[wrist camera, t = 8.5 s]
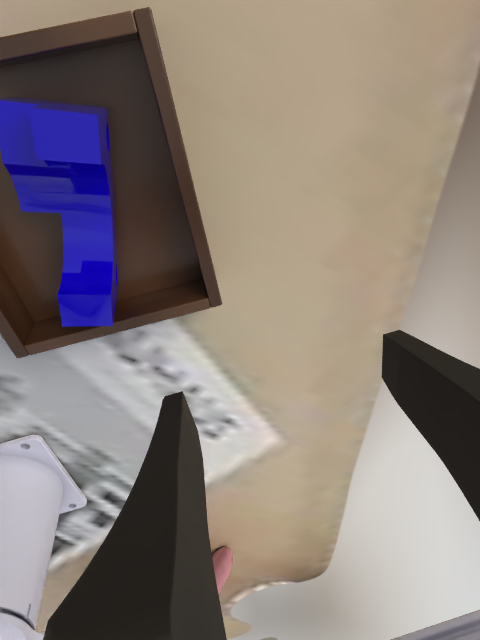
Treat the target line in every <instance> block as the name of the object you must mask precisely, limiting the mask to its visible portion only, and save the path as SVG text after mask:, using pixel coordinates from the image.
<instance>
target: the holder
mask: <svg viewBox="0 0 480 640" xmlns="http://www.w3.org/2000/svg"><path fill="white" fill-rule="evenodd" d="M6 97H20V98H30V99H39V100H48V101H57V102H66V103H75V104H84V105H93V106H102V107H108V109H109V126H110V143H111V159H112V176H113V193H114V209H115V226H116V243H117V259H118V276H119V287H118V294H117V301H116V308H115V315H114V322H113V326H75V327H62V321H61V315H60V308H59V302H58V295H57V294H58V292H59V288H60V284H61V279H62V271H63V255H64V245H63V226H62V216H61V213H45V212H24V211H21V207H20V203H19V199H18V195H17V192H16V189H15V186H14V183H13V181H12V178H11V176H10V174H9V172H8V170H7V169H6V167H5V166H4V164H3V160H2V155H1V150H0V334H1V335H2V337H3V338H4V340H5V341H6V343H7V344H8V346H9V347H10V349H11V350H12V352H13V353H14V355H15V356H16V358H21V357H25V356H28V355H33V354H37V353H40V352H44V351H48V350H52V349H56V348H59V347H63V346H67V345H71V344H75V343H79V342H82V341H86V340H90V339H94V338H98V337H101V336H105V335H109V334H113V333H117V332H121V331H124V330H128V329H132V328H136V327H140V326H143V325H147V324H151V323H155V322H159V321H163V320H166V319H170V318H174V317H178V316H182V315H185V314H189V313H193V312H197V311H201V310H205V309H208V308H210V306H211V307H216V306H220V305H222V301H221V297H220V293H219V288H218V284H217V280H216V276H215V272H214V268H213V264H212V259H211V255H210V251H209V247H208V243H207V239H206V235H205V230H204V226H203V222H202V218H201V214H200V210H199V206H198V202H197V197H196V193H195V189H194V185H193V181H192V177H191V173H190V168H189V164H188V160H187V156H186V152H185V148H184V144H183V139H182V135H181V131H180V127H179V123H178V119H177V115H176V110H175V106H174V102H173V98H172V94H171V90H170V86H169V81H168V77H167V73H166V69H165V65H164V61H163V57H162V52H161V48H160V44H159V40H158V36H157V32H156V28H155V24H154V19H153V15H152V11H151V9H150V8H149V7H147V8H142V9H137V10H134V11H133V12H132V11H127V12H123V13H118V14H113V15H108V16H103V17H98V18H93V19H88V20H83V21H78V22H73V23H68V24H63V25H59V26H54V27H49V28H44V29H39V30H34V31H29V32H24V33H19V34H14V35H9V36H4V37H0V98H6Z"/></svg>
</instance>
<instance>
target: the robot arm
mask: <svg viewBox="0 0 480 640" xmlns="http://www.w3.org/2000/svg"><path fill="white" fill-rule="evenodd" d="M382 378H383V380H384V382H385V384H386V385H387V387H388V389H389V391H390V392H391V394H392V395H393V397H394V399H395V400H396V402H397V403H398V405H399V406H400V407H401V409H402V410H403V411H404V412H405V414H406V415H407V416H408V418H409V419H410V420H411V421H412V423H413V424H414V425H415V426H416V428H417V429H418V430H419V432H420V433H421V434H422V435H423V437H424V438H425V439H426V440H427V442H428V443H429V444H430V446H431V447H432V448H433V449H434V450H435V452H436V453H437V455H438V456H439V457H440V459H441V460H442V461H443V463H444V464H445V466H446V467H447V469H448V470H449V472H450V474H451V475H452V477H453V478H454V480H455V481H456V483H457V484H458V486H459V488H460V489H461V490H462V492H463V494H464V496H465V497H466V499H467V501H468V502H469V504H470V506H471V507H472V509H473V511H474V512H475V514H476V516H477V517H478V519H479V521H480V369H479V368H476V367H474V366H471V365H469V364H467V363H465V362H463V361H461V360H458V359H457V358H455V357H452V356H450V355H448V354H446V353H444V352H442V351H440V350H438V349H436V348H434V347H432V346H430V345H429V344H427V343H425V342H423V341H421V340H419V339H417V338H415V337H413V336H411V335H409V334H407V333H405V332H403V331H401V330H397V331H394V332H390V333H387V334H383V356H382ZM86 502H87V498H86V497H85V496H84V494H83V493H82V491H81V490H80V489H79V487H78V486H77V485H76V483H75V482H74V480H73V479H72V478H71V476H70V475H69V474H68V472H67V471H66V469H65V468H64V467H63V465H62V464H61V463H60V461H59V460H58V459H57V457H56V456H55V454H54V453H53V452H52V450H51V449H50V448H49V446H48V445H47V443H46V442H45V441H44V439H43V438H42V437H41V436H39V435H29V436H26V437H22V438H18V439H15V440H11V441H8V442H4V443H0V640H227V639H226V634H225V628H224V623H223V617H222V612H221V606H220V601H219V595H218V589H217V583H216V577H215V571H214V565H213V559H212V553H211V547H210V541H209V533H208V524H207V510H206V496H205V481H204V468H203V457H202V451H201V446H200V440H199V435H198V430H197V428H196V425H195V422H194V420H193V417H192V415H191V412H190V409H189V407H188V404H187V402H186V399H185V396H184V394H183V391H182V392H179V393H175V394H172V395H168V396H165V397H164V399H163V401H162V406H161V410H160V414H159V418H158V421H157V425H156V428H155V431H154V434H153V437H152V440H151V443H150V446H149V449H148V452H147V454H146V457H145V459H144V462H143V464H142V467H141V469H140V472H139V474H138V477H137V479H136V481H135V484H134V486H133V488H132V490H131V492H130V494H129V496H128V498H127V500H126V502H125V504H124V506H123V508H122V510H121V512H120V514H119V516H118V517H117V519H116V521H115V523H114V525H113V526H112V528H111V530H110V532H109V533H108V535H107V537H106V538H105V540H104V542H103V543H102V545H101V546H100V548H99V550H98V551H97V553H96V554H95V556H94V557H93V559H92V560H91V562H90V563H89V565H88V567H87V568H86V570H85V571H84V573H83V574H82V576H81V577H80V578H79V580H78V581H77V583H76V584H75V585H74V587H73V588H72V589H71V591H70V592H69V594H68V595H67V596H66V598H65V599H64V600H63V602H62V603H61V604H60V606H59V607H58V608H57V610H56V611H55V612H54V614H53V615H52V616H51V618H50V619H49V620H48V623H47V627H46V631H45V634H43V633H39V632H36V631H35V630H36V625H37V620H38V615H39V610H40V606H41V601H42V596H43V591H44V586H45V581H46V576H47V571H48V567H49V562H50V557H51V552H52V547H53V542H54V537H55V533H56V528H57V523H58V518H59V514H62V513H65V512H68V511H72V510H75V509H79V508H82V507H84V506H85V505H86ZM391 640H480V610H478V611H475V612H472V613H469V614H466V615H463V616H460V617H457V618H454V619H451V620H448V621H445V622H442V623H439V624H436V625H433V626H430V627H427V628H424V629H422V630H418V631H415V632H413V633H409V634H406V635H403V636H401V637H397V638H394V639H391Z"/></svg>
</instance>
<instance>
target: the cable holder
mask: <svg viewBox="0 0 480 640" xmlns="http://www.w3.org/2000/svg"><path fill="white" fill-rule="evenodd" d="M0 150H1V155H2V160H3V164H4V166H5V167H6V169H7V170H8V172H9V174H10V176H11V178H12V181H13V183H14V186H15V189H16V192H17V195H18V199H19V203H20V207H21V211H24V212H45V213H61V216H62V226H63V245H64V255H63V271H62V279H61V284H60V288H59V292H58V294H57V295H58V302H59V308H60V315H61V321H62V327H75V326H113V322H114V315H115V308H116V301H117V294H118V287H119V276H118V259H117V243H116V226H115V209H114V193H113V176H112V159H111V143H110V126H109V109H108V107H102V106H93V105H84V104H75V103H66V102H57V101H48V100H39V99H30V98H20V97H6V98H0Z"/></svg>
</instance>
